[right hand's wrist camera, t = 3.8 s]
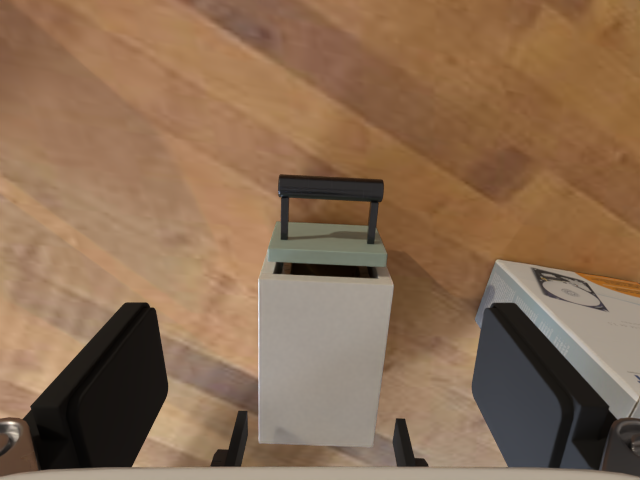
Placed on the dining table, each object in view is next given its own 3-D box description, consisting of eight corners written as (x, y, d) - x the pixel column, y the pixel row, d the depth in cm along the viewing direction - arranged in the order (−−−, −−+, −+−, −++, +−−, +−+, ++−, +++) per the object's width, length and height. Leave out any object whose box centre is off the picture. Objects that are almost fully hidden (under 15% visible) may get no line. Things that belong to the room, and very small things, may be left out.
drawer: (277, 163, 36) (268, 179, 30) (382, 169, 36) (395, 186, 30) (274, 358, 43) (266, 405, 37) (361, 361, 44) (368, 409, 37)
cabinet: (270, 238, 40) (258, 278, 31) (378, 243, 40) (394, 284, 31) (269, 378, 46) (258, 443, 37) (363, 382, 46) (373, 447, 37)
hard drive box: (639, 279, 41) (905, 438, 22) (607, 342, 44) (823, 530, 25) (493, 256, 40) (646, 401, 21) (470, 321, 43) (588, 501, 24)
